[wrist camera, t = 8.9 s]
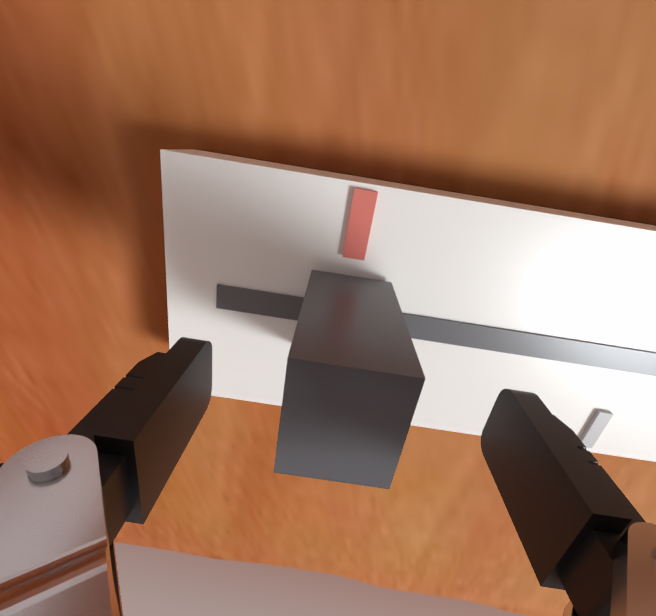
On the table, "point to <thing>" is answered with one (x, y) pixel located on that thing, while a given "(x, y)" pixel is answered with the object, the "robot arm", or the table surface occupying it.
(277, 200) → the panel
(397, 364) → the fader tab
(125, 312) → the table surface
